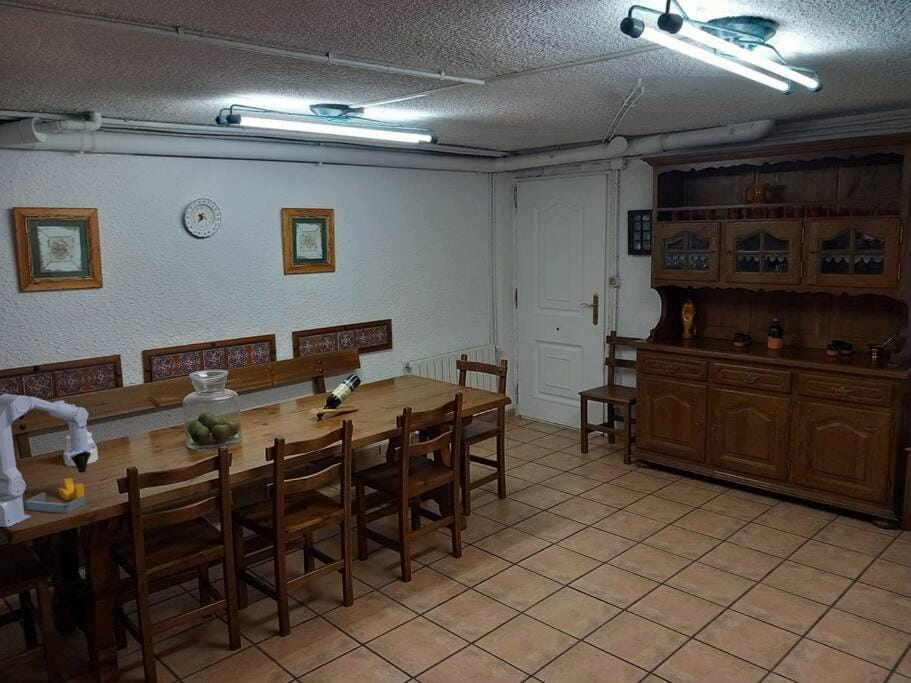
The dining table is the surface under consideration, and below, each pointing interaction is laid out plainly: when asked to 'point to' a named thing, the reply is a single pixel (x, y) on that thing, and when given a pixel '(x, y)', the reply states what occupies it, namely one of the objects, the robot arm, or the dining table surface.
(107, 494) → the dining table surface
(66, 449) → the honey pot
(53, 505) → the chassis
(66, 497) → the pipe clamp
